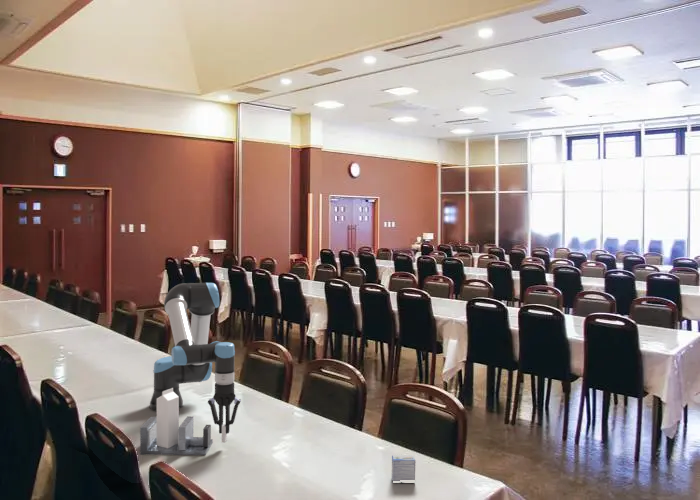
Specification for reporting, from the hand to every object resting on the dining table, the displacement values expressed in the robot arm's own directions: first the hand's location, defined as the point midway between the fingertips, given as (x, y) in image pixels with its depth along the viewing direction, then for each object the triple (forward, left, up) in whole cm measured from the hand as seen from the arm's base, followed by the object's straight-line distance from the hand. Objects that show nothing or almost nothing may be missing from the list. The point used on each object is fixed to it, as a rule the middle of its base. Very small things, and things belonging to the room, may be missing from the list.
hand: (224, 441), depth 226 cm
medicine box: (+26, +68, -4) cm, 73 cm away
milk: (0, -22, -2) cm, 22 cm away
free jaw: (0, -11, -1) cm, 11 cm away
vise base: (0, -18, -3) cm, 19 cm away
